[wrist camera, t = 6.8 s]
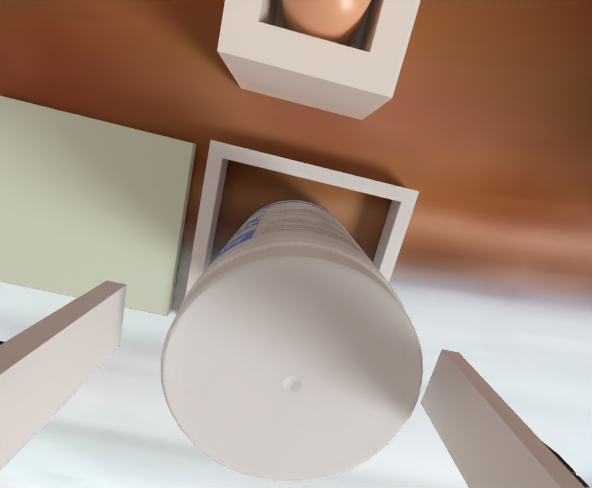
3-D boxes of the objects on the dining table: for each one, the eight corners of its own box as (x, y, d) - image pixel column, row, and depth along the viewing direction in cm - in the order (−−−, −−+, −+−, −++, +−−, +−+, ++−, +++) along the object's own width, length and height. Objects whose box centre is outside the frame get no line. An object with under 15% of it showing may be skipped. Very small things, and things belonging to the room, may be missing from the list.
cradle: (408, 189, 23) (419, 191, 21) (354, 355, 27) (359, 369, 25) (217, 142, 22) (210, 139, 20) (187, 320, 26) (179, 332, 24)
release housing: (399, -21, 20) (455, -119, 13) (361, 120, 22) (392, 97, 15) (267, -60, 19) (253, -184, 13) (241, 88, 21) (217, 50, 15)
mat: (196, 144, 22) (193, 143, 22) (171, 311, 26) (167, 316, 25) (2, 96, 21) (-9, 93, 21) (1, 276, 25) (-9, 279, 24)
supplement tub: (243, 188, 23) (164, 218, 9) (362, 211, 24) (469, 273, 9) (227, 302, 25) (143, 472, 11) (336, 320, 26) (389, 505, 12)
